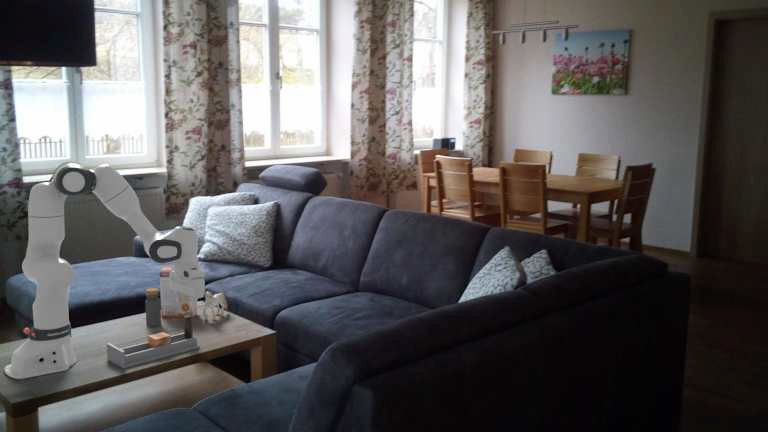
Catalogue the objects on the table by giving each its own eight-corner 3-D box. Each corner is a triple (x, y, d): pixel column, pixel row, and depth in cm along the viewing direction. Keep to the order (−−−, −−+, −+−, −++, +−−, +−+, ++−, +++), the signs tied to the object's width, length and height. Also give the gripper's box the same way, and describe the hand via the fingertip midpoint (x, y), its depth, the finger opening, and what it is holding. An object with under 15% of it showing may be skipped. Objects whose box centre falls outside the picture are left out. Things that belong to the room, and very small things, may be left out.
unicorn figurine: (198, 325, 289) (197, 294, 287) (212, 311, 308) (211, 282, 306) (215, 326, 289) (214, 294, 287) (228, 312, 308) (227, 282, 306)
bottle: (164, 323, 292) (162, 288, 289) (155, 327, 286) (154, 292, 284) (151, 322, 293) (150, 287, 291) (143, 326, 288) (141, 290, 285)
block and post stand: (155, 352, 254) (154, 327, 253) (148, 348, 258) (147, 323, 257) (196, 341, 266) (195, 317, 265) (188, 338, 270) (187, 314, 268)
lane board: (122, 368, 242) (122, 352, 242) (107, 359, 251) (106, 343, 250) (199, 347, 264) (199, 332, 263) (183, 339, 272) (182, 325, 271)
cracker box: (197, 314, 305) (196, 267, 301) (192, 318, 299) (190, 270, 296) (166, 312, 306) (164, 266, 303) (160, 317, 300) (158, 269, 297)
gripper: (164, 265, 267) (164, 300, 269) (192, 275, 253) (192, 312, 255) (179, 263, 272) (179, 298, 274) (207, 272, 258) (208, 309, 260)
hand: (186, 305), depth 264 cm, fingers open, 8 cm apart
